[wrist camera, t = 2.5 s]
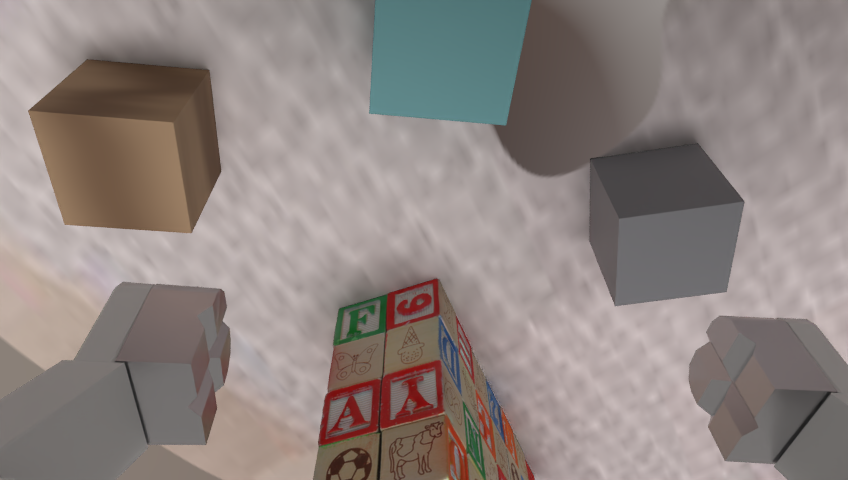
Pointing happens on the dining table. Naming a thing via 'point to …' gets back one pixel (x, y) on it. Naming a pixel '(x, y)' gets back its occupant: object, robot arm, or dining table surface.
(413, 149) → the dining table surface
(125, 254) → the dining table surface
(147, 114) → the walnut cube
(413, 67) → the teal cube
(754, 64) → the dining table surface
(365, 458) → the stack of blocks
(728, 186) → the charcoal cube
